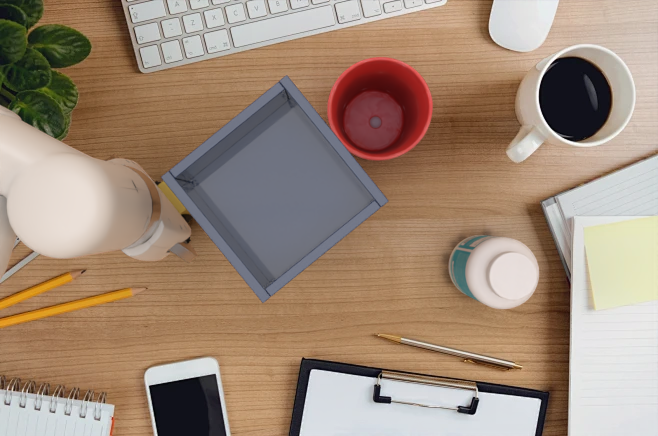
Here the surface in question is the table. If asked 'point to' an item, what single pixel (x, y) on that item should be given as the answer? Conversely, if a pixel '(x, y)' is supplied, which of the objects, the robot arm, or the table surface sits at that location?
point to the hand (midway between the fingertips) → (168, 209)
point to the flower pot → (380, 108)
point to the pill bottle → (494, 270)
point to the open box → (274, 189)
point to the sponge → (173, 198)
